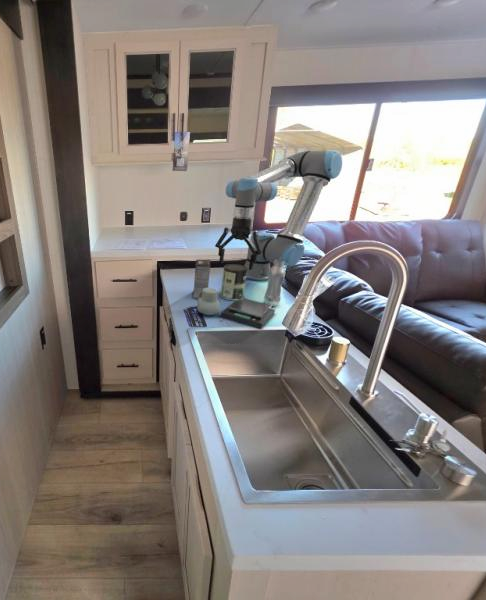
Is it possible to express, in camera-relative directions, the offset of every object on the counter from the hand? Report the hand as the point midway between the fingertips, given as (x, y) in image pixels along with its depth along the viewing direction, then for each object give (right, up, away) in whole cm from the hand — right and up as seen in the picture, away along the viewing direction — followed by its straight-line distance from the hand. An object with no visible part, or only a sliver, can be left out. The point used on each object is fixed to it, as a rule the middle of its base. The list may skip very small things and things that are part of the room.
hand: (235, 266), depth 140 cm
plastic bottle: (+15, -17, -2) cm, 23 cm away
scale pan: (+2, -19, -12) cm, 22 cm away
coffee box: (-14, -13, +7) cm, 21 cm away
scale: (+1, -21, -12) cm, 25 cm away
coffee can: (0, -14, +6) cm, 15 cm away
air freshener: (-15, -20, -9) cm, 27 cm away
